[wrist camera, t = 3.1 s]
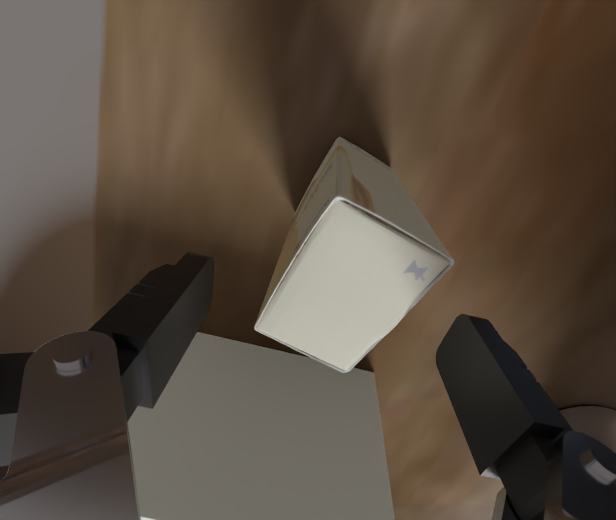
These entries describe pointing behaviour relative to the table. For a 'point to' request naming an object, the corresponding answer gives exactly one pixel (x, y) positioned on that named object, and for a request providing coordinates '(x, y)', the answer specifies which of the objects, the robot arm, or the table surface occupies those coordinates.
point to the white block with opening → (260, 439)
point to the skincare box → (350, 261)
